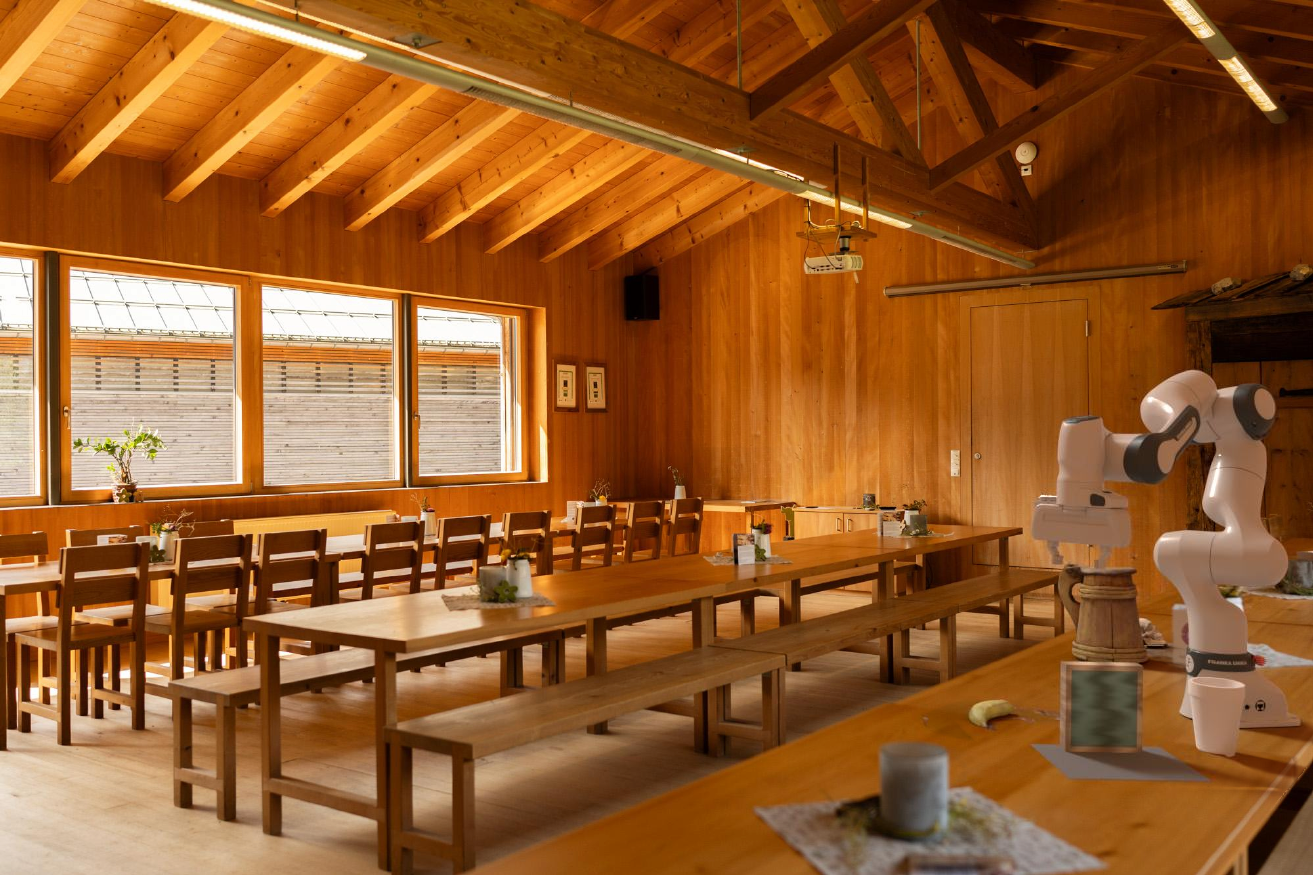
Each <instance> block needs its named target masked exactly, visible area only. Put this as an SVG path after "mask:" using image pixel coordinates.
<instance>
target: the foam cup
mask: <svg viewBox="0 0 1313 875" xmlns="http://www.w3.org/2000/svg"><path fill="white" fill-rule="evenodd" d="M1188 693H1189V694H1190V701H1191V709H1192V717H1193V719H1192V724H1193V730H1194V731H1193V732H1194V741H1195V746H1196V748H1197V749H1198V750H1199V751H1202V752H1205V753H1209V754H1212V755H1213V754H1214V755H1224V756H1225V757H1228V758H1230V757H1235V755H1236V750H1237V746H1238V745H1237V744H1238V738H1239V731H1240V728H1239V726H1240V720H1241V714H1242V707H1243V701H1244V699H1245V685H1244V684H1243V683H1241V682H1237V681H1234V680H1228V679H1222V678H1212V677H1195V678H1190V679H1189V680H1188Z"/></svg>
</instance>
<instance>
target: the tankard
mask: <svg viewBox="0 0 1313 875" xmlns="http://www.w3.org/2000/svg"><path fill="white" fill-rule="evenodd" d="M1137 573H1138V570H1137V569H1136V568H1134V567H1130V566H1129V567H1128V566H1127V567H1121V566H1119V567H1118V566H1116V567H1113V566H1112V567H1111V566H1106V569H1095V568H1094V566H1088V565H1082V564H1079V563H1073V562H1071V561H1066V562H1065V563H1064V566H1063V568H1062V570H1061V571H1060V573H1059V576H1058V582H1057V583H1058V585H1057V588H1058V594H1059V597H1060V600H1061V602H1062V605H1063V606H1064V609H1065V610H1066V611H1067V613H1068V615H1069V616H1070V618H1071V620H1072V623H1073V626H1074V628H1075V637H1076V638H1075V639H1074V640H1073V641H1072V647H1071V648H1072V649H1071V653H1072V655H1073V656H1074V658H1076V659H1077V660H1080V661H1083V662H1123V663H1138V664H1140V663H1144V662H1147V661H1148V660H1149V657H1148V651H1147V647H1145V646H1144V644H1143V639H1142V634H1141V628H1140V622H1139V618H1140V615H1139V610H1138V609H1139V608H1138V605H1137V597H1138V595H1139V593H1138V589H1137V585H1136V584H1135V583H1134V580H1133V575H1135V574H1137ZM1077 584H1079V588H1078V590H1077V593H1078V595H1079V596H1080V598H1081V599H1080V602H1079V601H1078V600H1076V598H1075V597H1074V595H1073V588H1074V587H1075V586H1076V585H1077Z"/></svg>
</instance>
